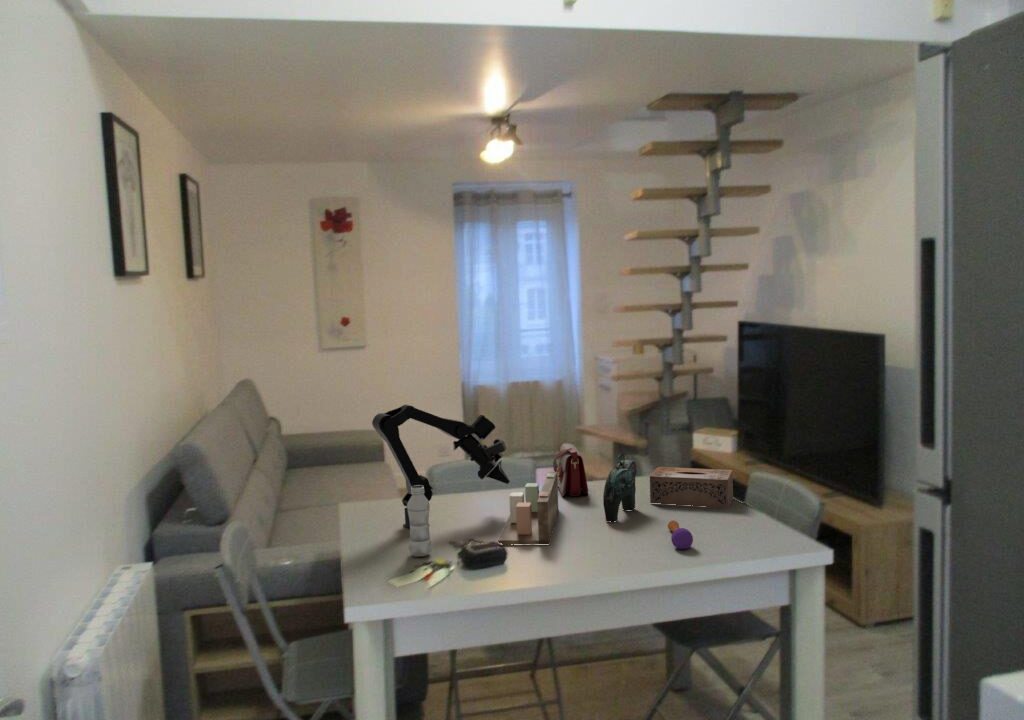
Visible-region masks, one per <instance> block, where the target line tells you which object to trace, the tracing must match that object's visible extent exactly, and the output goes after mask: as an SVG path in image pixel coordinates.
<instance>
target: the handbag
mask: <svg viewBox="0 0 1024 720" xmlns="http://www.w3.org/2000/svg"><path fill="white" fill-rule="evenodd" d="M557 459H558V462H557ZM552 464H553V465H552V469H553V472H557V484H558V485H559V486H558V490H559V491H560V494H561V496H562V497H564V496H565V495H566V494H567V493H568V494H569V495H570V497H578V496H580V495H581V492H583V493H584V494H585V495H586V496H588V495H589V488H588V487H589V486H588V482H587V481H588V480H587V475H586V470H585V463H584V460H583V457H582V456H581V454H580V452H579V450H578V449H577V448H576V446H575V444H573V443H572V442H563V443H561V444H560V446H559V448H558V452H557V454H556V455H555V457H554V460H553V463H552Z"/></svg>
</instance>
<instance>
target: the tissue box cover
mask: <svg viewBox="0 0 1024 720" xmlns="http://www.w3.org/2000/svg"><path fill="white" fill-rule="evenodd" d="M733 475H734V473H733V469H716V468H715V469H712V468H710V469H709V468H691V467H690V468H688V467H669V466H665V467H664V466H657V468H655V469H654V471H653V472H651V474H650V475H649V499H650V501H649V503H661V504H676V505H691V506H692V505H693V506H706V507H716V508H715V509H720V508H727V509H726V510H729V508H730V505H731V504H732V501H733V498H734V490H733V489H734V485H733V481H734V480H733V479H734V477H733ZM730 503H731V504H730Z"/></svg>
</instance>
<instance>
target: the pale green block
mask: <svg viewBox="0 0 1024 720" xmlns="http://www.w3.org/2000/svg"><path fill="white" fill-rule="evenodd" d="M539 488H540V486H539V483H537V482H536V483H535V482H531V483H530V482H529V483H526V484H525V485H524V490H525V491H524V499H525V502H531V512H538V507H537V501H538V498H539V496H540V489H539Z"/></svg>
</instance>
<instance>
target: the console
mask: <svg viewBox="0 0 1024 720" xmlns="http://www.w3.org/2000/svg"><path fill="white" fill-rule="evenodd" d="M558 491H559V487H558V484H557V472H555V471H547V474H546V477H545V479H544V483H543V485H542V487H541V491H540V492H539V498H538V501H537V507H538V512H531V515H532V532H531V534H530V535H517V523H510V515H509V516H508V517H507V520H506V523H505V524H504V526H503V529H502V531H501V533H500V535H499V537H498V539H497V543H498V542H499V543H502V544H503V545H502V546H515V545H514V544H549V543H551V540H552V536H551V535H553V533H552V531H553V532H554V529H553V528H554V527H555V525H554V524H556V521H555V520H557V517H556V516H558V513H557V512H559V493H558ZM550 539H551V540H550ZM511 544H513V545H511ZM549 545H550V544H549Z"/></svg>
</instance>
